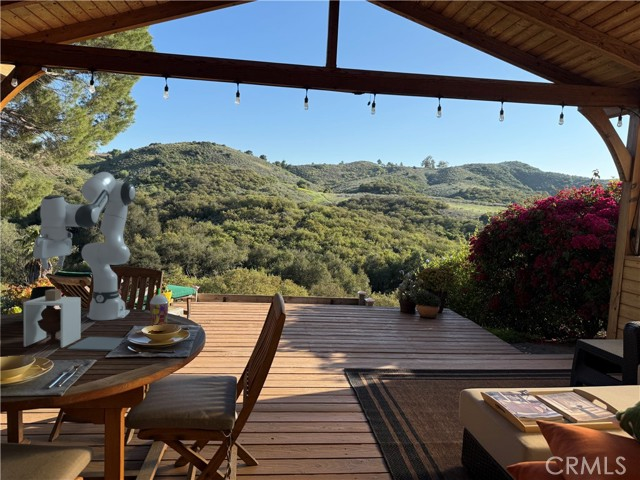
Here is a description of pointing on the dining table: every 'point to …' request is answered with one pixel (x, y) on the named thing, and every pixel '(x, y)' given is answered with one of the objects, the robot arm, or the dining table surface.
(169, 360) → the dining table surface
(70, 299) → the cover
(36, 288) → the wine glass
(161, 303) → the smoothie
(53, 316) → the ice cream bowl
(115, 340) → the mat
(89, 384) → the dining table surface
